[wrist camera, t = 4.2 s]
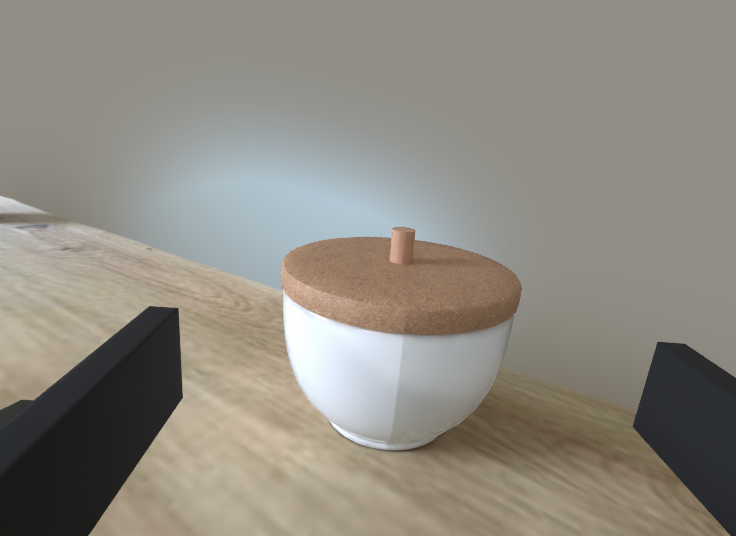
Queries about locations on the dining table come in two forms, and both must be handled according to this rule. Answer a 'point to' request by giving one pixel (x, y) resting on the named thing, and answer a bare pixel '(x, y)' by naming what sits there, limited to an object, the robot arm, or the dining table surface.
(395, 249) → the trinket box
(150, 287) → the dining table surface
